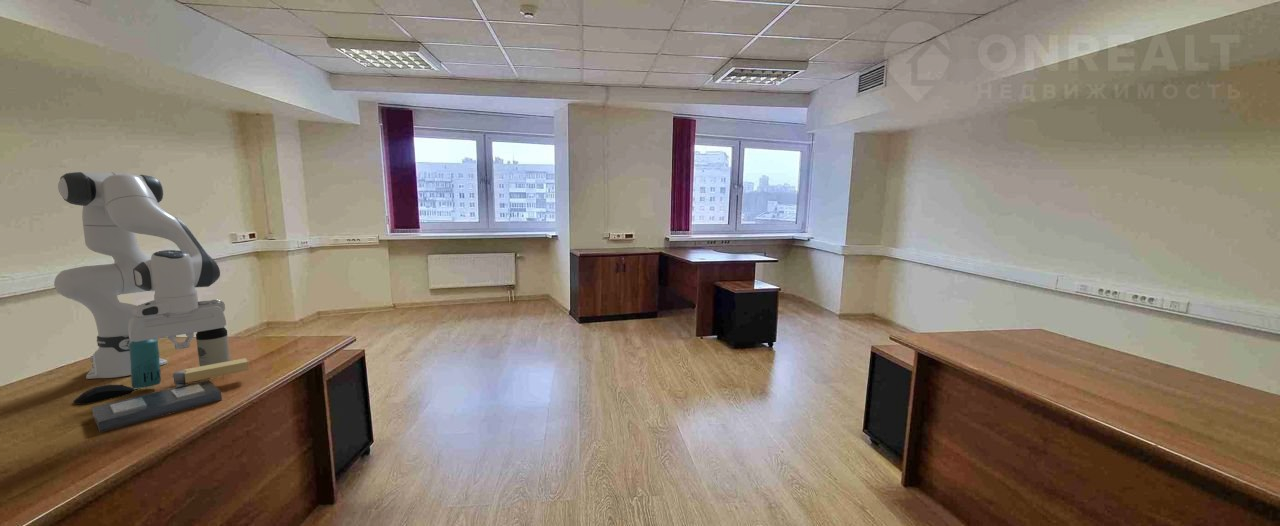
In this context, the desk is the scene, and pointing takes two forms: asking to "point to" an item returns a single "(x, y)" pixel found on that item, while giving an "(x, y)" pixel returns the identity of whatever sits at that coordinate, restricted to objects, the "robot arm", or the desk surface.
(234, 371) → the beige block
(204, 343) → the travel mug
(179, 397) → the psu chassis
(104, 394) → the gaming mouse
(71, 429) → the desk surface
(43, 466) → the desk surface
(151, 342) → the beverage bottle
